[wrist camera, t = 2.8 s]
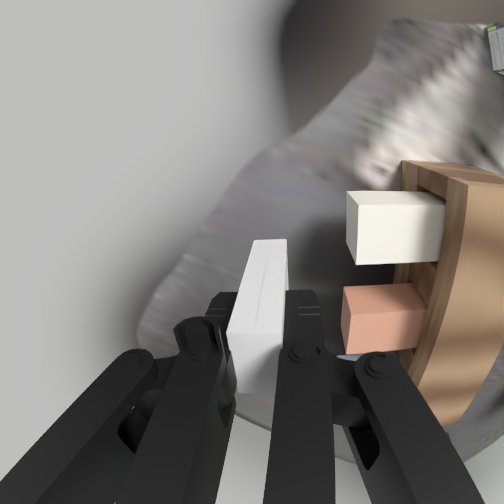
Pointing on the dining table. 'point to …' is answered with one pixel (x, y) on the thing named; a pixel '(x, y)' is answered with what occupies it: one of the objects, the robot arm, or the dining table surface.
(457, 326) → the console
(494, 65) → the syrup box
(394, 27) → the dining table surface
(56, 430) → the robot arm
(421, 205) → the cream button
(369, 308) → the salmon pink block
